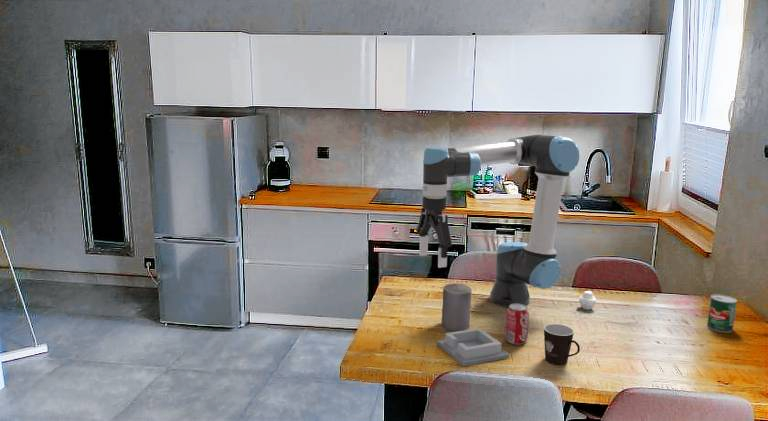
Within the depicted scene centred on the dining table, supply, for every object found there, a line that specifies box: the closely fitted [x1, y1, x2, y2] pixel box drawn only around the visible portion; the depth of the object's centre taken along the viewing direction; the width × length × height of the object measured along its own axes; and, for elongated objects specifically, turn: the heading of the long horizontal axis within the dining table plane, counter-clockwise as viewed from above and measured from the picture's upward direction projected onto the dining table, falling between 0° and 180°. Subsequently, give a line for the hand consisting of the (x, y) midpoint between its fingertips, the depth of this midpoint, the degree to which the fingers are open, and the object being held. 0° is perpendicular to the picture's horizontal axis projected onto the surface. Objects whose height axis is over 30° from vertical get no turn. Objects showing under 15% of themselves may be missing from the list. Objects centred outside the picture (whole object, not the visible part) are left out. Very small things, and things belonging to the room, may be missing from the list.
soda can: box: [504, 303, 530, 346], centre depth 181 cm, size 7×7×12 cm
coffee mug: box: [543, 323, 581, 366], centre depth 167 cm, size 12×9×10 cm
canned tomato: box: [706, 293, 738, 334], centre depth 195 cm, size 8×8×11 cm
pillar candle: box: [441, 283, 473, 332], centre depth 192 cm, size 10×10×15 cm
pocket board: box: [437, 327, 510, 367], centre depth 174 cm, size 16×16×4 cm
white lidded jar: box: [578, 290, 597, 311], centre depth 212 cm, size 6×6×7 cm
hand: (432, 261), depth 182 cm, fingers open, 13 cm apart
